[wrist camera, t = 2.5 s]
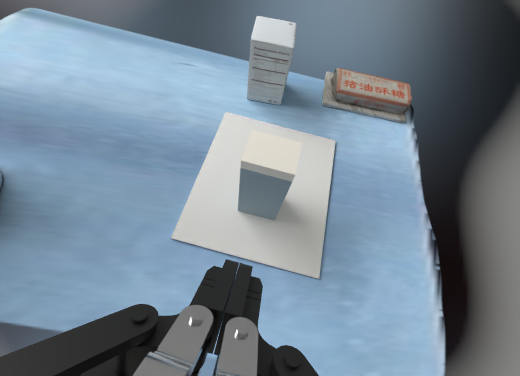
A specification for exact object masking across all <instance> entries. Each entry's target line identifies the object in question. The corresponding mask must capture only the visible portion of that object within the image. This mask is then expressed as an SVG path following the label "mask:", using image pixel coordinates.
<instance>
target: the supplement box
mask: <svg viewBox="0 0 520 376" xmlns="http://www.w3.org/2000/svg"><path fill="white" fill-rule="evenodd" d="M295 33H296V23H292V22H288V21H282V20H277V19H271V18H266V17H261V16H257V18H256V21H255V25H254V28H253V33H252V37H251V47H250V60H249V74H248V90H247V99H249V100H254V101H259V102H265V103H270V104H276V105H281V102H282V98H283V93H284V89H285V85H286V80H287V76H288V72H289V68H290V64H291V59H292V55H293V50H294V42H295Z"/></svg>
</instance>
